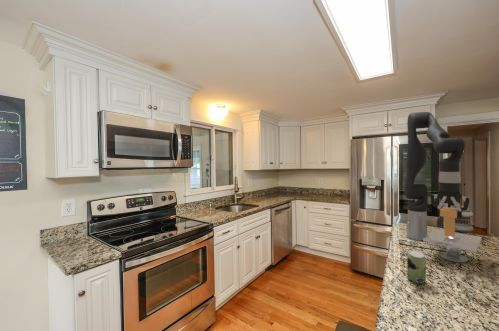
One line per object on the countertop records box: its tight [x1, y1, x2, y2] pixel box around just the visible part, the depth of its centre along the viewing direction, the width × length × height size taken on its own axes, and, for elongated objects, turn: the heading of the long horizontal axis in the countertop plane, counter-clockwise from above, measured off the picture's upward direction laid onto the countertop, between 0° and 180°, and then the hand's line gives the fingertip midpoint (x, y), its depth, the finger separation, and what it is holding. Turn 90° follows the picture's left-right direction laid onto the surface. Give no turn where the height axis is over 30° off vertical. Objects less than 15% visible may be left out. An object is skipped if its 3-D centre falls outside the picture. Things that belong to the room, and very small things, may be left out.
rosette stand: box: [422, 228, 482, 264], centre depth 107 cm, size 18×20×13 cm
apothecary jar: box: [449, 205, 474, 234], centre depth 137 cm, size 12×12×18 cm
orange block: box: [439, 206, 458, 237], centre depth 104 cm, size 6×7×12 cm
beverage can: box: [406, 250, 427, 284], centre depth 91 cm, size 6×7×12 cm
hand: (449, 217), depth 104 cm, fingers closed on orange block, 5 cm apart
